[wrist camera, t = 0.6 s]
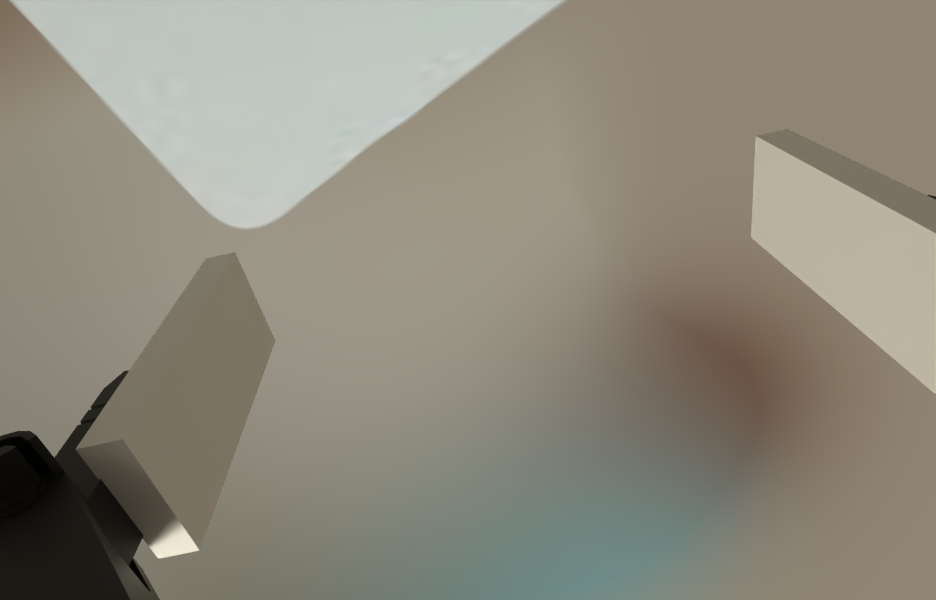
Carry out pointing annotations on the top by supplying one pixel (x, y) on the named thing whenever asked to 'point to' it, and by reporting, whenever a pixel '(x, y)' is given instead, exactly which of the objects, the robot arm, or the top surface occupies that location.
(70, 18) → the top surface
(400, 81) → the top surface
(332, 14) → the top surface
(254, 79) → the top surface
